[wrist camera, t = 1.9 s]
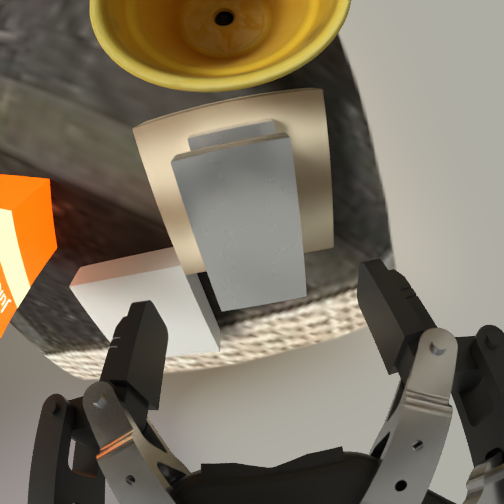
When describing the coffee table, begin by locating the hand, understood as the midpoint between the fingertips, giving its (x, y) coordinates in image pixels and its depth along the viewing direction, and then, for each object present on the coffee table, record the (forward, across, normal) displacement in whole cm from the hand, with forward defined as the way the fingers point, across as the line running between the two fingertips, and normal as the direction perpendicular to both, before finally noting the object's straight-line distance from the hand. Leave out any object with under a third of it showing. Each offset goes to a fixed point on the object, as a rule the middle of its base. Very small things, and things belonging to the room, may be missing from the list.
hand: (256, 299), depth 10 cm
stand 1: (+13, +12, +11) cm, 21 cm away
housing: (+10, 0, 0) cm, 10 cm away
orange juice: (+13, +22, -3) cm, 26 cm away
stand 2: (+13, 0, 0) cm, 13 cm away
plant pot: (+13, -1, -12) cm, 18 cm away
